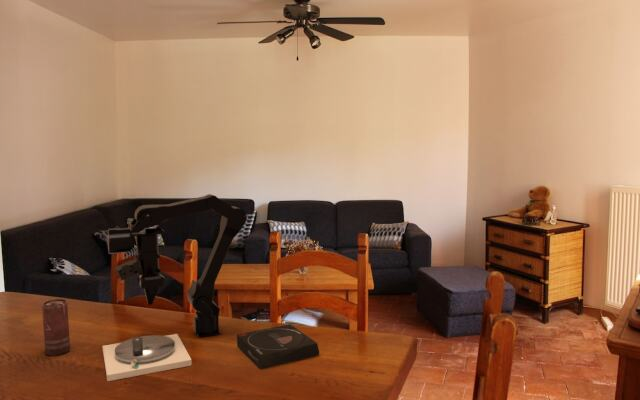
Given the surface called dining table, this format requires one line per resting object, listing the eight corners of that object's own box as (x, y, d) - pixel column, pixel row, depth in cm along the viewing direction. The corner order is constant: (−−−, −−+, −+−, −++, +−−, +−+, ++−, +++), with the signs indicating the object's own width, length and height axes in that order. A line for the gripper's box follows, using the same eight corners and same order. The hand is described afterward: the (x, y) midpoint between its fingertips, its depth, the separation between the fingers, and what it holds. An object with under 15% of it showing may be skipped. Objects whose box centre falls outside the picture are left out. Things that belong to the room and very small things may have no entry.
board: (177, 338, 150) (177, 333, 150) (191, 365, 132) (191, 359, 132) (102, 351, 141) (102, 345, 141) (107, 381, 123) (106, 374, 123)
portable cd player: (319, 356, 138) (319, 342, 137) (259, 370, 129) (259, 355, 129) (292, 336, 152) (292, 323, 152) (237, 348, 144) (236, 334, 143)
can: (60, 357, 137) (57, 306, 136) (40, 355, 139) (36, 304, 137) (76, 348, 143) (72, 299, 142) (56, 346, 145) (52, 297, 143)
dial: (127, 340, 144) (126, 321, 143) (181, 340, 144) (180, 320, 143) (102, 367, 127) (100, 345, 126) (163, 366, 127) (162, 344, 126)
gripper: (114, 247, 150) (117, 299, 151) (119, 260, 133) (122, 318, 135) (154, 243, 154) (156, 294, 156) (164, 255, 138) (166, 312, 139)
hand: (150, 304), depth 146 cm, fingers closed
